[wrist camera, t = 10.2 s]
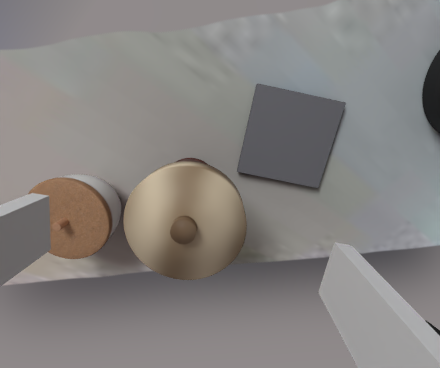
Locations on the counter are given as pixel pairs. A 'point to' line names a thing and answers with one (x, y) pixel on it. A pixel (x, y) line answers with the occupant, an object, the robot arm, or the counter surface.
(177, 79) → the counter surface
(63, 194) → the lidded jar
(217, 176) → the lid
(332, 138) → the mat
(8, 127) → the counter surface
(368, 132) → the counter surface
